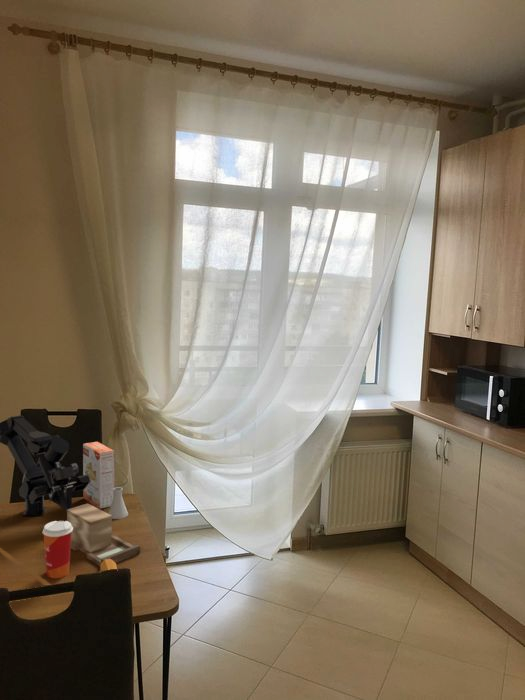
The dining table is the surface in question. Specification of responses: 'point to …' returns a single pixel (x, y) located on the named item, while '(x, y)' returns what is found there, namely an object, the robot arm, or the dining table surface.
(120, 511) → the flask
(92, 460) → the cracker box
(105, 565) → the carrot
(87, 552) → the tan shallow tray
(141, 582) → the dining table surface
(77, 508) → the tea box
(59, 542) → the paper cup
